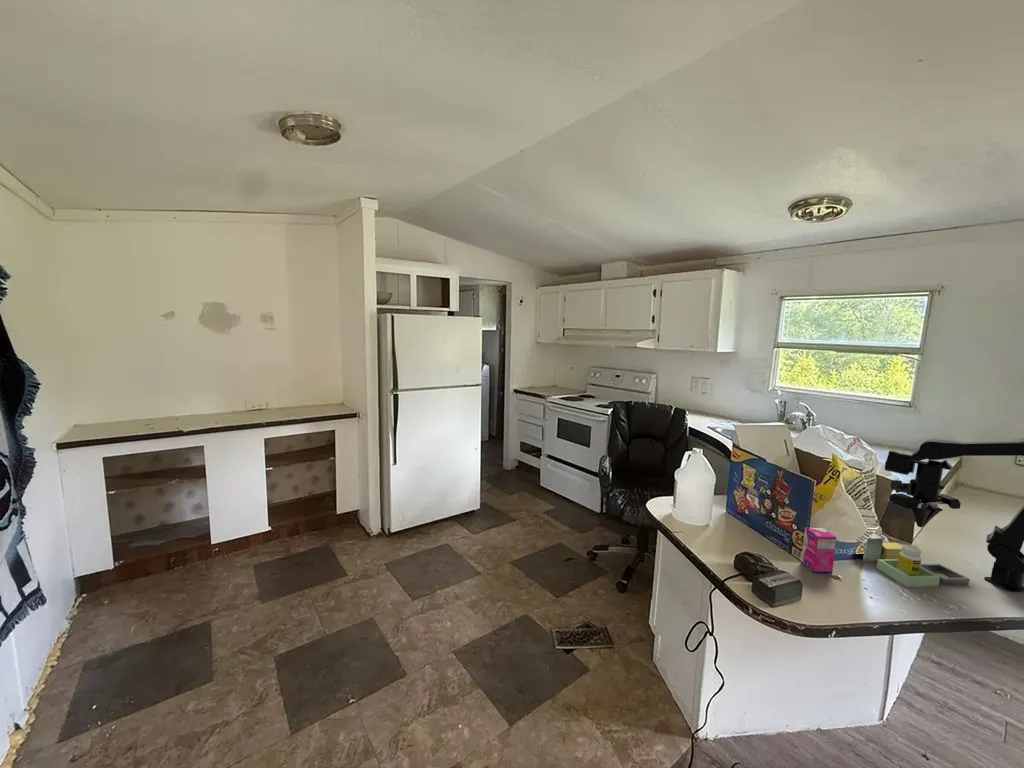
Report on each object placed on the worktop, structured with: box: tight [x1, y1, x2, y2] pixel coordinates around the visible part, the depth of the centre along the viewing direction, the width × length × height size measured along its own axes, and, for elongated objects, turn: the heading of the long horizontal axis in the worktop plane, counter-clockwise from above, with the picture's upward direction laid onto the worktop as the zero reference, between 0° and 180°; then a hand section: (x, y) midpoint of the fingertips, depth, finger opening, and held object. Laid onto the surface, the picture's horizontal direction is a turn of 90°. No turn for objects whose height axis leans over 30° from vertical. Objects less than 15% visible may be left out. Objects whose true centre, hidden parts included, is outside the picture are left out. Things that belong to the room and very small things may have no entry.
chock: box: [880, 542, 903, 559], centre depth 136 cm, size 7×4×4 cm, turn 93°
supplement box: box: [800, 527, 837, 574], centre depth 127 cm, size 6×6×12 cm
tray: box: [876, 558, 940, 588], centre depth 124 cm, size 9×9×3 cm
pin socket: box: [920, 563, 971, 586], centre depth 125 cm, size 8×8×2 cm
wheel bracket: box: [862, 534, 884, 563], centre depth 134 cm, size 7×5×9 cm, turn 95°
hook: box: [876, 525, 890, 543], centre depth 148 cm, size 8×12×7 cm
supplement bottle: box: [897, 544, 922, 576], centre depth 124 cm, size 5×5×8 cm
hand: (919, 526), depth 135 cm, fingers closed
